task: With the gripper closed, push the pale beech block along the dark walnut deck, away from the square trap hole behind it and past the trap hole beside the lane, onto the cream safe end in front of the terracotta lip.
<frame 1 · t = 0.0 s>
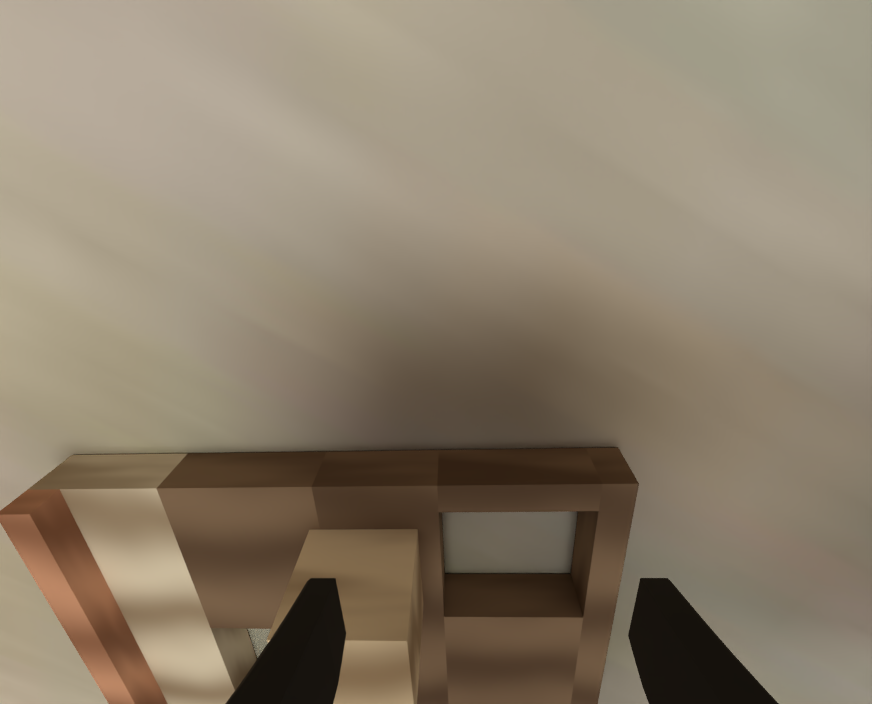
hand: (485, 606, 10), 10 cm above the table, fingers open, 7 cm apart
beech block: (368, 568, 21), point 2 cm above the table, touching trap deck
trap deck: (357, 580, 25), on the table
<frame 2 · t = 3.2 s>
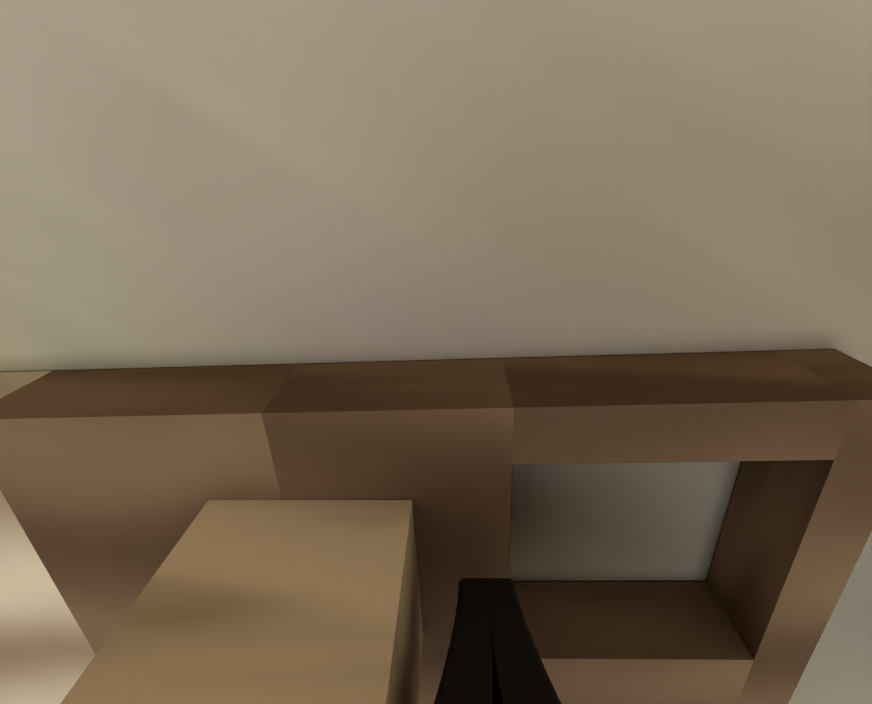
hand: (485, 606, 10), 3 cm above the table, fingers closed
beech block: (323, 573, 11), point 3 cm above the table, touching gripper, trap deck
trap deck: (356, 592, 15), on the table
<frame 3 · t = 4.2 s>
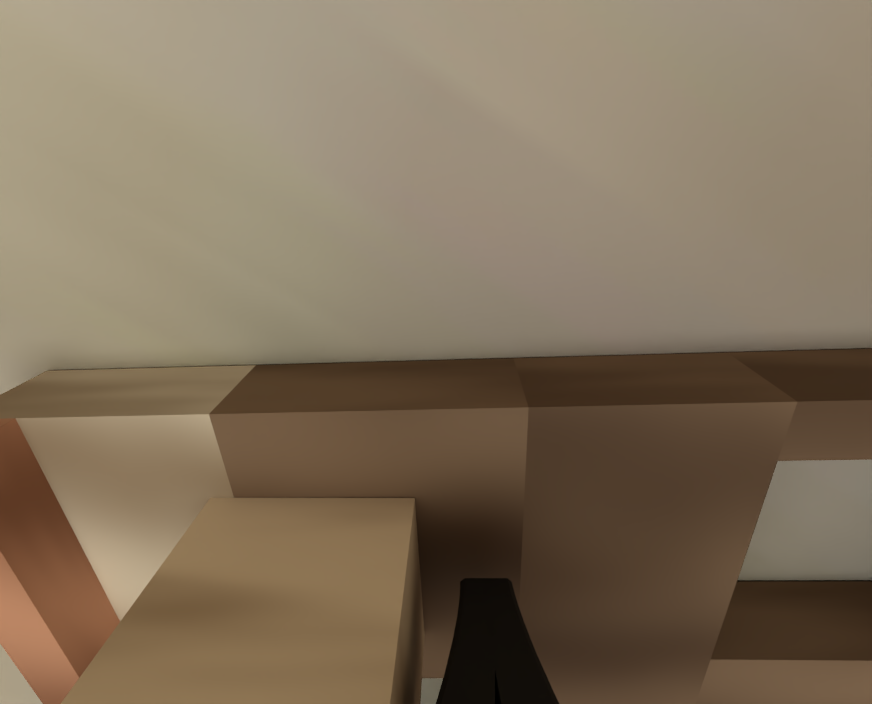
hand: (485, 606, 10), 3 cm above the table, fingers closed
beech block: (325, 571, 11), point 3 cm above the table, touching gripper
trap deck: (520, 591, 15), on the table
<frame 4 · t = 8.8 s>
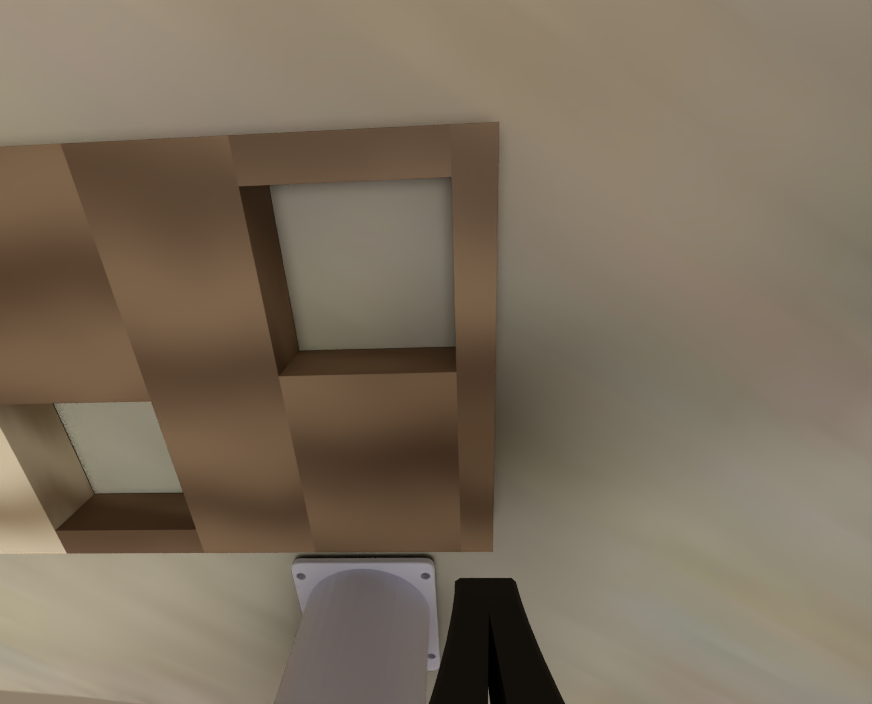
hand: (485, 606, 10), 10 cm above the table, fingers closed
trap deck: (193, 363, 20), on the table
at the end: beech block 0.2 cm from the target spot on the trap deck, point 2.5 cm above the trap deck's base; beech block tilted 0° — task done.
